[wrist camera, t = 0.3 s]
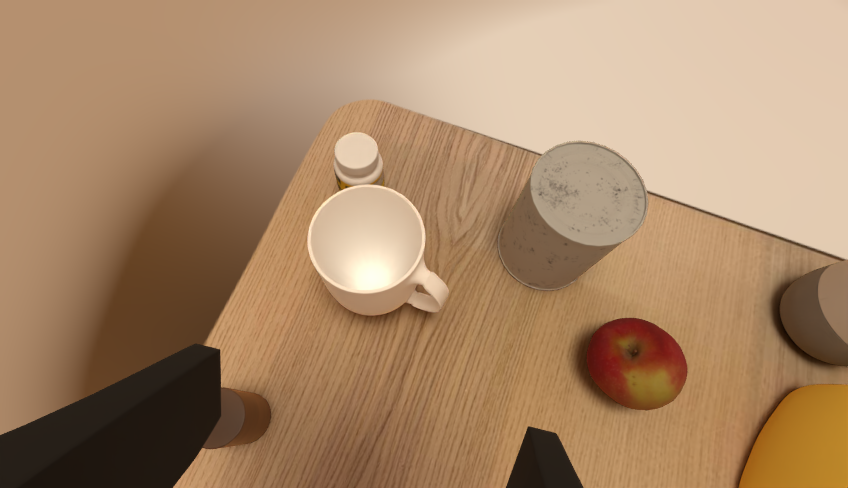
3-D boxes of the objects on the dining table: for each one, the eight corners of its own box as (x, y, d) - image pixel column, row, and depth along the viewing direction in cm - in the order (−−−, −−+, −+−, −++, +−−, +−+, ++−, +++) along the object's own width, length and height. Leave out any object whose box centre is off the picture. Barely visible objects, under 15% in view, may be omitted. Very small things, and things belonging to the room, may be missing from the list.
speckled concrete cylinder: (528, 191, 48) (567, 121, 37) (602, 241, 47) (668, 183, 35) (479, 253, 45) (507, 198, 34) (557, 309, 44) (613, 270, 32)
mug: (312, 298, 43) (282, 255, 31) (361, 227, 46) (349, 166, 35) (415, 359, 41) (422, 336, 30) (458, 281, 44) (479, 235, 33)
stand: (261, 448, 37) (233, 454, 31) (214, 438, 37) (176, 442, 31) (277, 398, 39) (253, 393, 32) (232, 388, 39) (199, 382, 33)
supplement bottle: (331, 191, 47) (318, 146, 39) (365, 167, 49) (359, 119, 41) (360, 221, 46) (352, 181, 38) (393, 196, 47) (392, 152, 40)
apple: (615, 312, 44) (659, 290, 36) (670, 384, 41) (730, 376, 34) (557, 352, 42) (591, 337, 35) (611, 429, 40) (660, 431, 32)
